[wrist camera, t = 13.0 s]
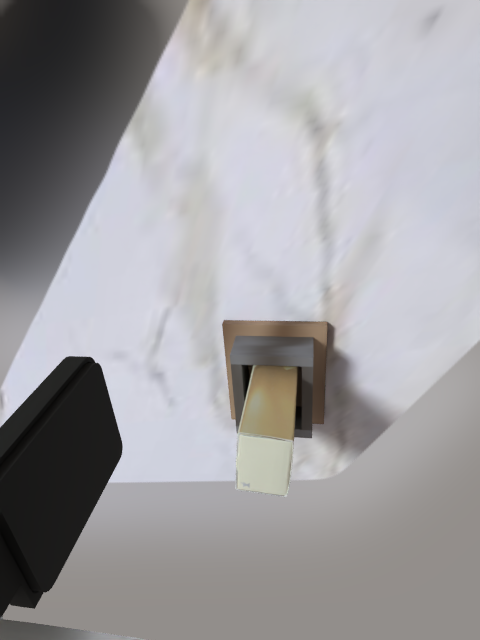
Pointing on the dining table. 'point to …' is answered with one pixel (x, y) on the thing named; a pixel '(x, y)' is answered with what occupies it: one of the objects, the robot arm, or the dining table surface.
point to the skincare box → (267, 431)
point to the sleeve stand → (278, 363)
